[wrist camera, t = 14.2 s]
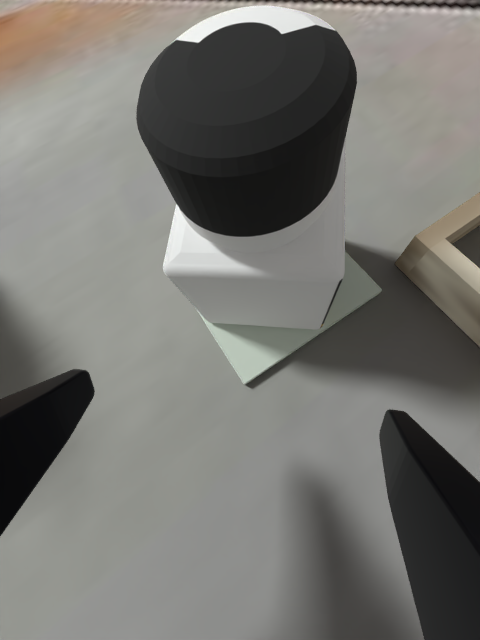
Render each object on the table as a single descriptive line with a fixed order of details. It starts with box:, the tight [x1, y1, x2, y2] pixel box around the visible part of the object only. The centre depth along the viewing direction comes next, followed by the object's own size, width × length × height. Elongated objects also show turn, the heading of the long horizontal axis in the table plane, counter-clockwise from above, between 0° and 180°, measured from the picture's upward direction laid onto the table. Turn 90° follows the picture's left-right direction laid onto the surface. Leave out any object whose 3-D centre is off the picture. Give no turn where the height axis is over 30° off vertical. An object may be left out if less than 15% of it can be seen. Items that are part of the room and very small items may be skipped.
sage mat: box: [196, 251, 382, 385], centre depth 18 cm, size 10×10×1 cm
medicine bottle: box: [137, 6, 357, 330], centre depth 13 cm, size 7×7×12 cm
